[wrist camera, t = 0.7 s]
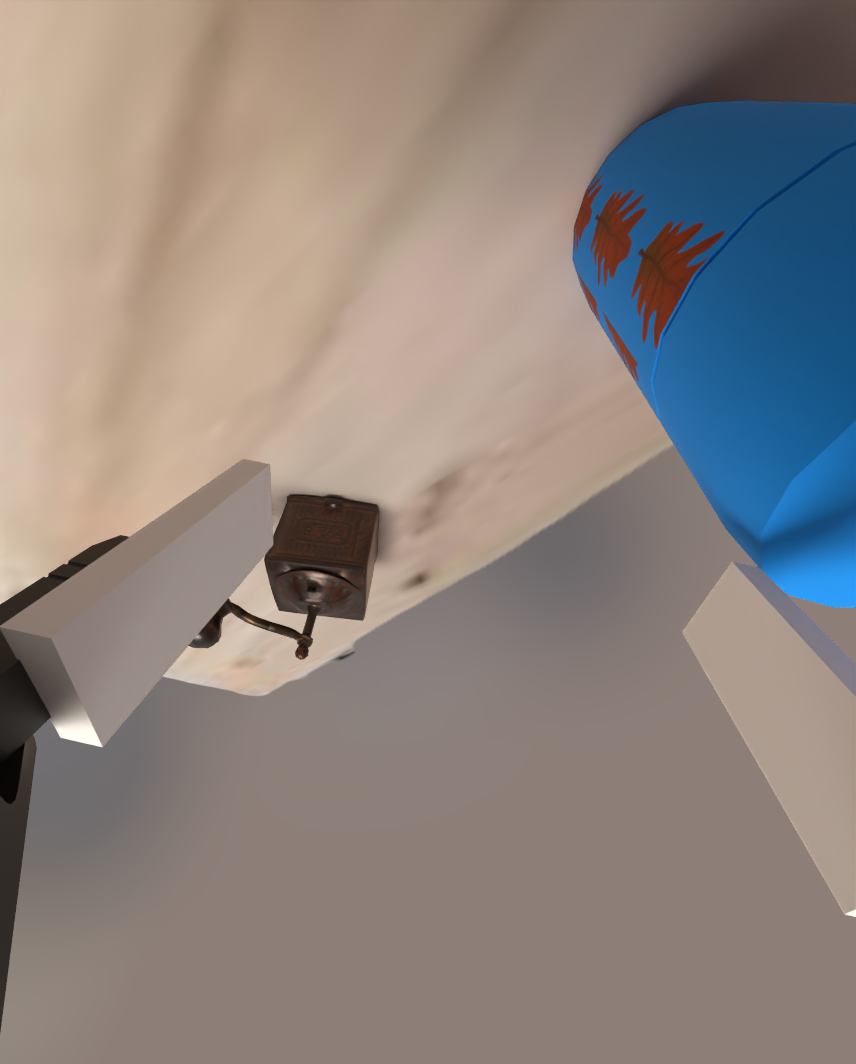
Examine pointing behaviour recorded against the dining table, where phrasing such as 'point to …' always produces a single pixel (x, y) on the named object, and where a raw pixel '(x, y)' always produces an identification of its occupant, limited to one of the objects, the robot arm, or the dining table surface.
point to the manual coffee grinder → (313, 567)
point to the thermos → (742, 316)
